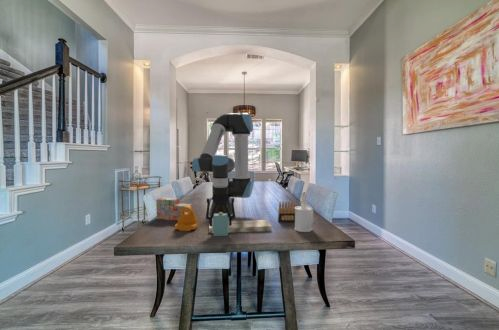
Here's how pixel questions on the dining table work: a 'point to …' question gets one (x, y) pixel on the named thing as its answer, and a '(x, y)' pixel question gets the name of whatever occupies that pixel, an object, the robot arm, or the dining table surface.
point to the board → (248, 226)
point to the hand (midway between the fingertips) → (220, 232)
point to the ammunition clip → (286, 216)
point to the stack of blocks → (169, 208)
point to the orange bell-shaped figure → (187, 219)
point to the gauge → (220, 224)
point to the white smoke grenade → (303, 216)
